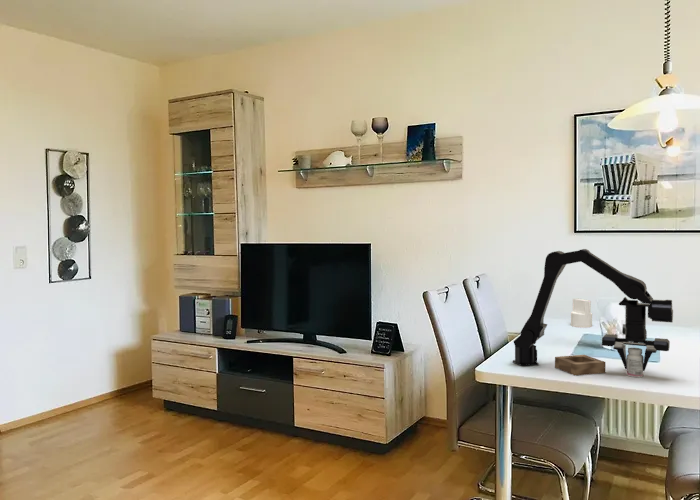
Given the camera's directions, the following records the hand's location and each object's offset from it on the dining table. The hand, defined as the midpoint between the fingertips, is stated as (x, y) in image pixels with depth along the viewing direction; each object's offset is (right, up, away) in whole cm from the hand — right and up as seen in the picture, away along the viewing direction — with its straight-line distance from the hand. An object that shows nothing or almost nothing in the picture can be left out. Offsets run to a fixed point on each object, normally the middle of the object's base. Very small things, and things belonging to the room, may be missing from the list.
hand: (635, 369), depth 189 cm
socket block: (-14, -2, +8) cm, 16 cm away
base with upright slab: (+16, +3, +87) cm, 88 cm away
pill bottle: (0, -2, 0) cm, 2 cm away
